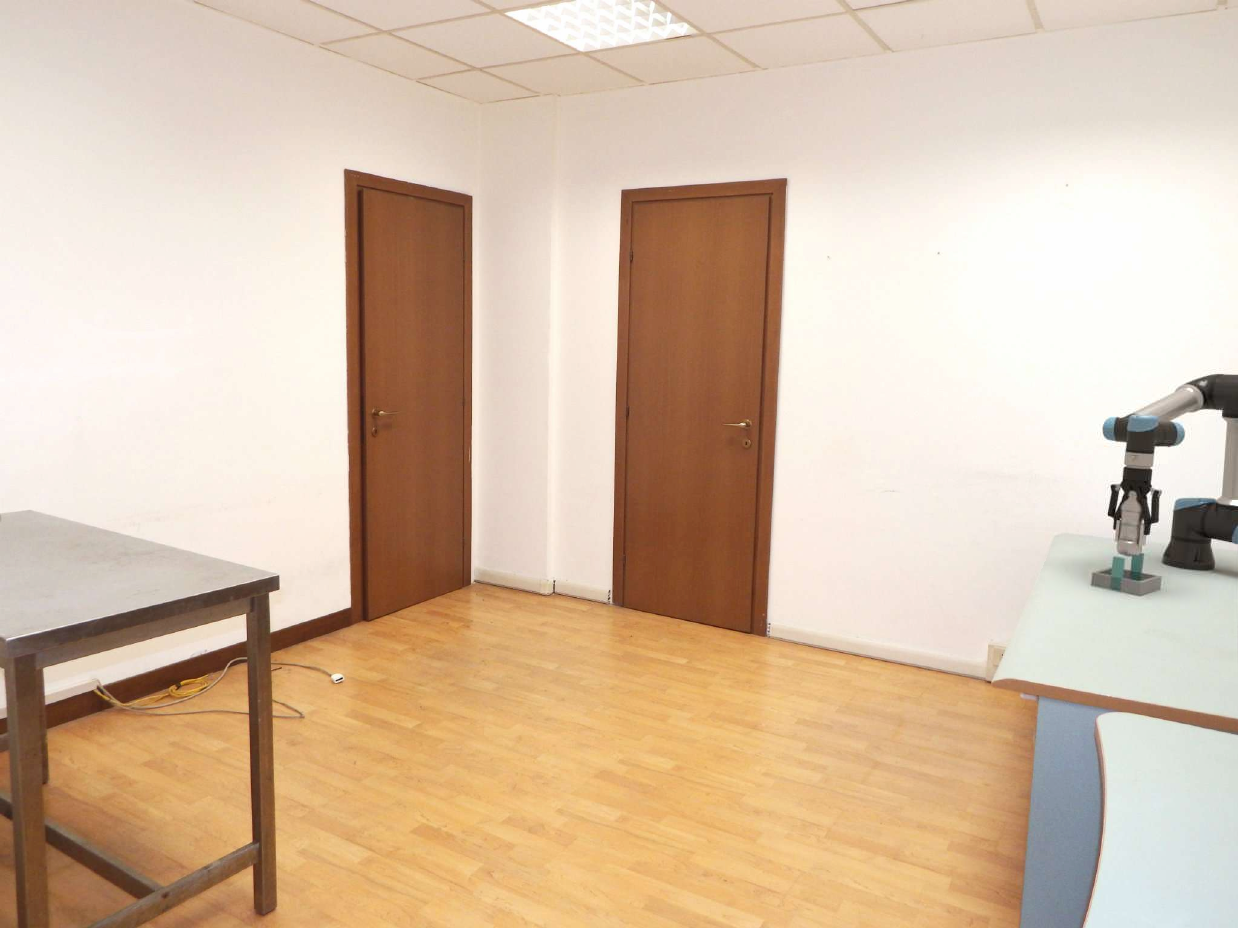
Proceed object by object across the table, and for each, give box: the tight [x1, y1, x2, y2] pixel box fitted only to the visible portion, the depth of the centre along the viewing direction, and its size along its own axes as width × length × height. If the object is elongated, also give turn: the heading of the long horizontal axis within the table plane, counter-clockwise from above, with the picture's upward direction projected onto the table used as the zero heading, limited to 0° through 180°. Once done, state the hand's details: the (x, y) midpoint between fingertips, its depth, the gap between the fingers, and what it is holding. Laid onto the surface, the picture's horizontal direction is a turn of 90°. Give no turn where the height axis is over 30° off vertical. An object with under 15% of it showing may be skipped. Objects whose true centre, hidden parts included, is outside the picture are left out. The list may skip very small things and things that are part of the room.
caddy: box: [1090, 552, 1163, 597], centre depth 273 cm, size 14×14×10 cm
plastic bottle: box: [1116, 490, 1144, 557], centre depth 271 cm, size 6×7×20 cm
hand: (1129, 543), depth 272 cm, fingers closed on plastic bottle, 6 cm apart
